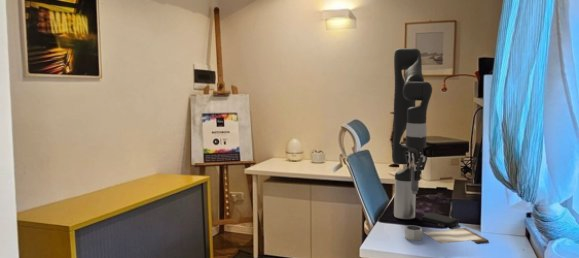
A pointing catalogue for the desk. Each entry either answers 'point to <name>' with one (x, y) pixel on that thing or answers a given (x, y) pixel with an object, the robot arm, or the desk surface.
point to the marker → (413, 181)
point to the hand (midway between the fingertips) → (414, 179)
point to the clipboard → (455, 236)
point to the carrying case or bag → (440, 220)
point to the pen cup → (413, 233)
